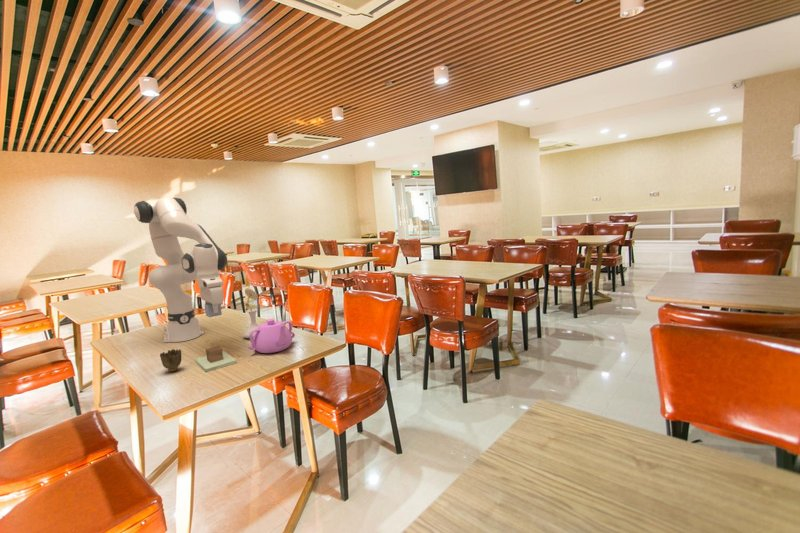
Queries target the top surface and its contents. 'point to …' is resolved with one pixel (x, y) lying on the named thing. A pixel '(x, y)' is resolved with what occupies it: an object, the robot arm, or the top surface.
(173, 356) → the dark brown round piece
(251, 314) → the flower in vase
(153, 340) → the top surface
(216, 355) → the walnut block
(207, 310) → the slate block
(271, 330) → the teapot
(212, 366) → the base plate
